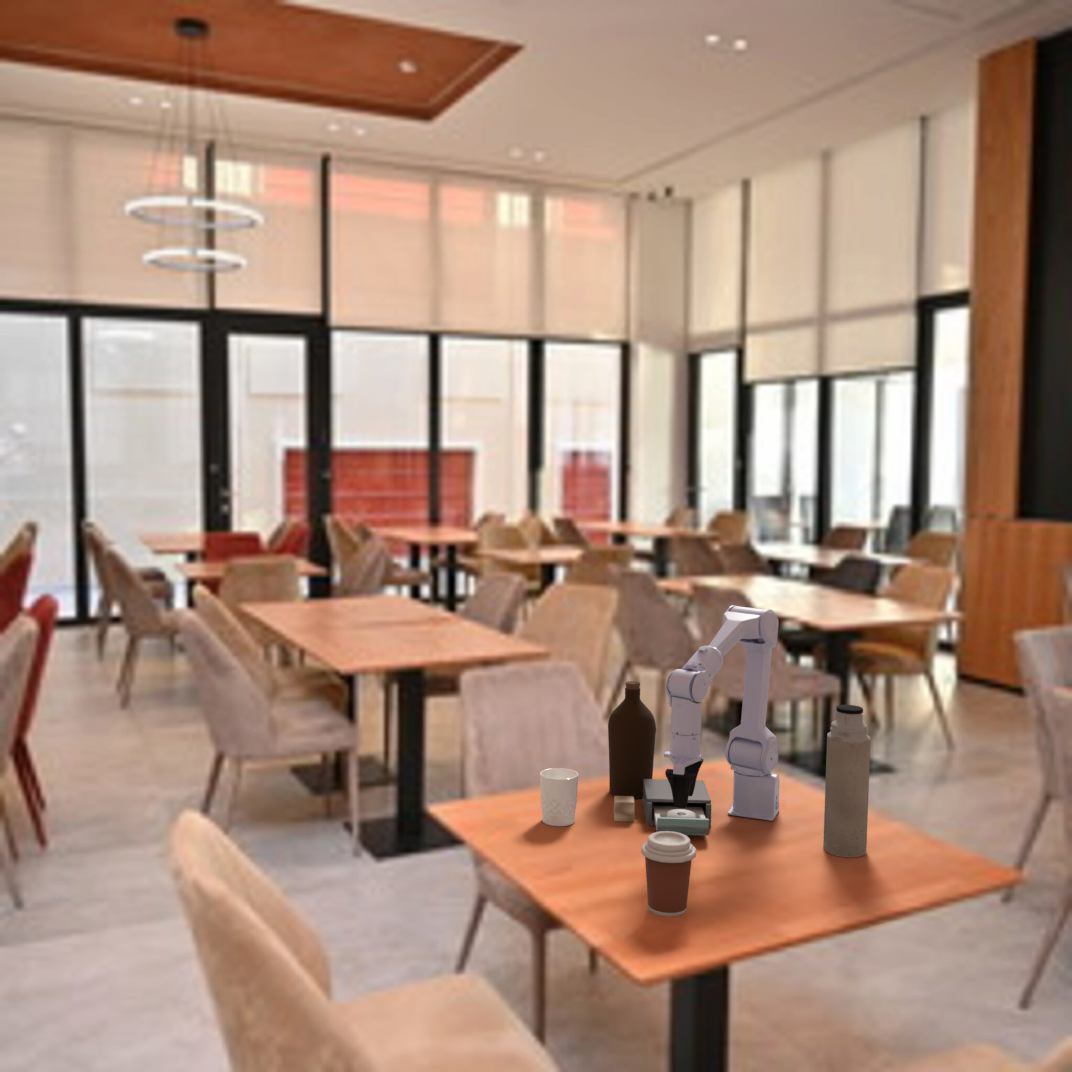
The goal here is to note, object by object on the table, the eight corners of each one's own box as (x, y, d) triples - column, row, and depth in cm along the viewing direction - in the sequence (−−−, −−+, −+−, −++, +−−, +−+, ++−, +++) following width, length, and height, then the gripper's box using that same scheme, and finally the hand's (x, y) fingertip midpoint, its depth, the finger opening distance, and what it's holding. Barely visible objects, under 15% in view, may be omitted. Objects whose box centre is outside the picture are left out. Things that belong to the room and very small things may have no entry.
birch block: (633, 815, 223) (633, 796, 223) (633, 821, 219) (634, 802, 219) (613, 814, 223) (614, 795, 223) (614, 820, 219) (614, 801, 219)
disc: (694, 829, 210) (695, 819, 209) (666, 827, 211) (666, 817, 210) (695, 819, 215) (695, 809, 215) (667, 817, 216) (667, 808, 216)
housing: (702, 803, 231) (703, 780, 231) (710, 827, 217) (711, 802, 216) (642, 802, 232) (643, 778, 231) (646, 825, 217) (647, 800, 217)
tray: (701, 814, 220) (702, 800, 220) (708, 835, 208) (708, 819, 208) (653, 813, 220) (653, 798, 220) (657, 833, 209) (657, 818, 208)
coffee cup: (705, 908, 177) (707, 838, 176) (672, 925, 171) (674, 852, 170) (662, 892, 184) (663, 824, 183) (628, 908, 177) (630, 837, 176)
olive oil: (625, 803, 231) (627, 689, 229) (597, 789, 240) (599, 680, 238) (664, 795, 236) (666, 684, 234) (635, 782, 245) (637, 675, 243)
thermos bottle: (835, 839, 211) (840, 699, 208) (873, 849, 205) (879, 706, 203) (815, 849, 205) (820, 706, 203) (854, 861, 199) (859, 713, 197)
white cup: (578, 828, 215) (578, 779, 214) (538, 827, 215) (539, 778, 214) (577, 815, 223) (578, 768, 222) (539, 814, 223) (540, 767, 222)
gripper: (671, 721, 213) (670, 788, 214) (657, 739, 199) (656, 810, 200) (707, 724, 211) (705, 791, 212) (695, 742, 197) (693, 814, 198)
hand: (683, 801), depth 206 cm, fingers open, 7 cm apart
